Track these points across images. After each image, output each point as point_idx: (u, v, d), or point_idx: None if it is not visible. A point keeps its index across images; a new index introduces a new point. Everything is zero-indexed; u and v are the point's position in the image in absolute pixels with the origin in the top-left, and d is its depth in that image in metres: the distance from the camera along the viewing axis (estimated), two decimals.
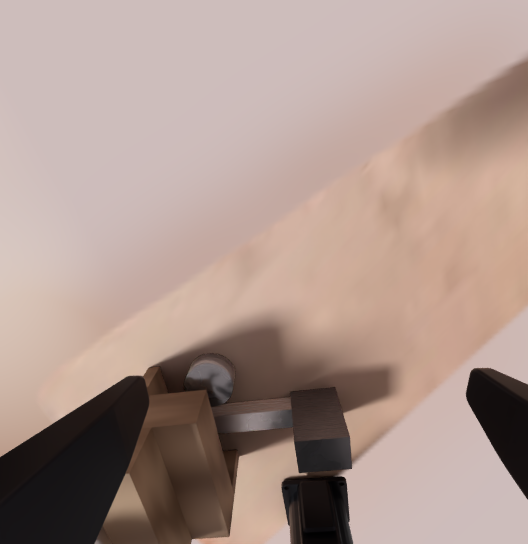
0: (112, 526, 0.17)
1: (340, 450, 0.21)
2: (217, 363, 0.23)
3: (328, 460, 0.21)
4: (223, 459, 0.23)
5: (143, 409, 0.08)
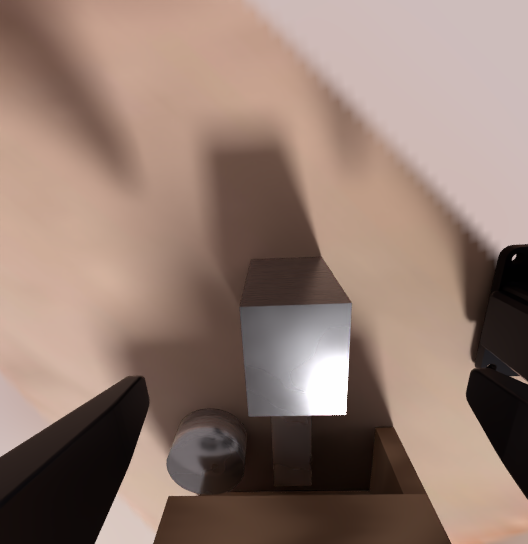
0: None
1: (284, 329, 0.08)
2: (173, 442, 0.15)
3: (313, 355, 0.09)
4: (321, 501, 0.12)
5: (143, 409, 0.08)
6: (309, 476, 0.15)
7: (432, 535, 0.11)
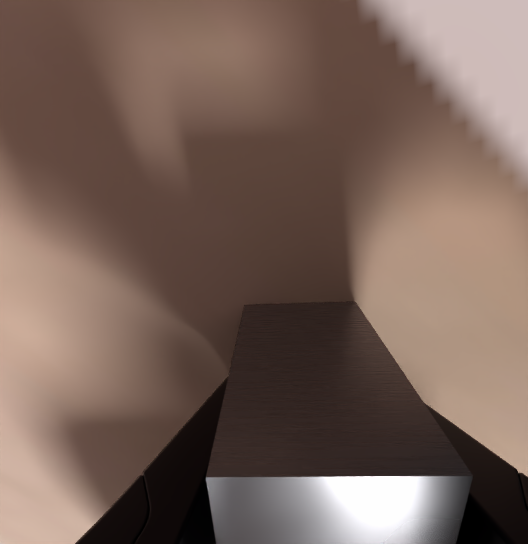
0: None
1: (308, 519, 0.04)
2: None
3: None
4: None
5: None
6: None
7: None
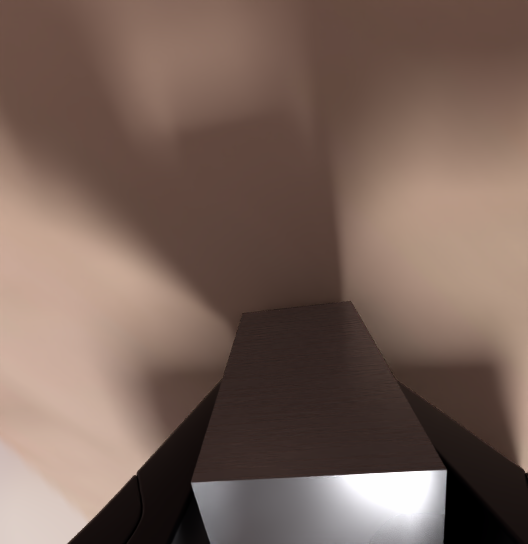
0: None
1: (293, 518, 0.04)
2: None
3: None
4: None
5: None
6: None
7: None
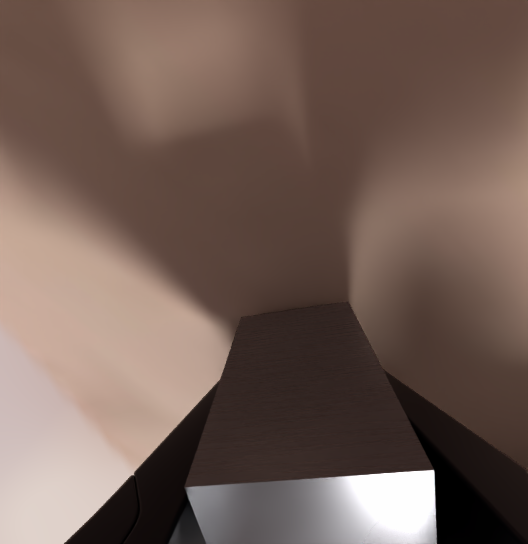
0: None
1: (286, 520, 0.04)
2: None
3: None
4: None
5: None
6: None
7: None
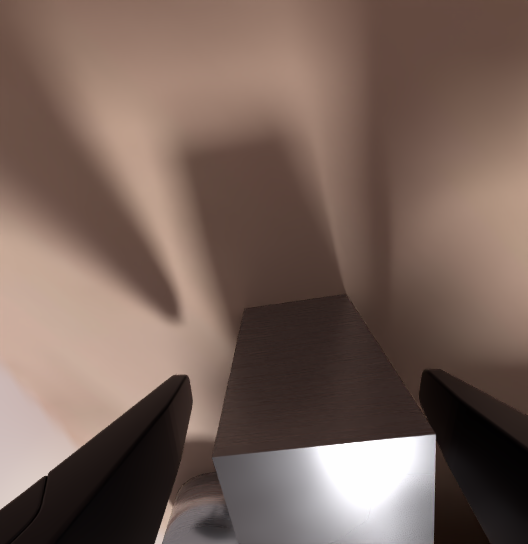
0: None
1: (303, 485, 0.04)
2: (167, 526, 0.10)
3: (364, 522, 0.04)
4: None
5: (188, 408, 0.08)
6: None
7: None
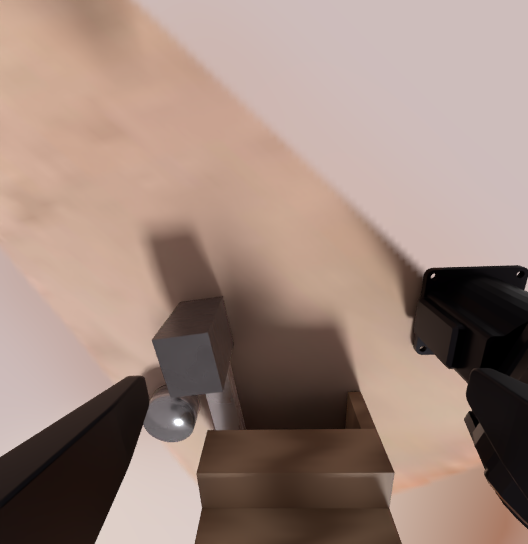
0: None
1: (177, 349, 0.16)
2: None
3: (195, 361, 0.16)
4: (307, 432, 0.19)
5: (143, 409, 0.08)
6: None
7: (375, 449, 0.18)
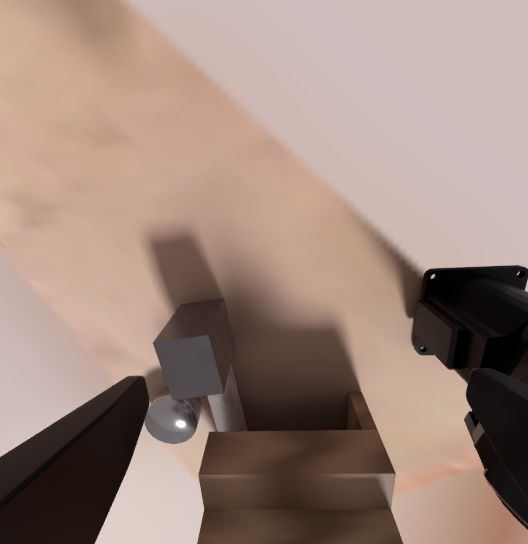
0: None
1: (178, 351, 0.16)
2: None
3: (196, 363, 0.16)
4: (308, 433, 0.19)
5: (143, 409, 0.08)
6: None
7: (376, 450, 0.18)
